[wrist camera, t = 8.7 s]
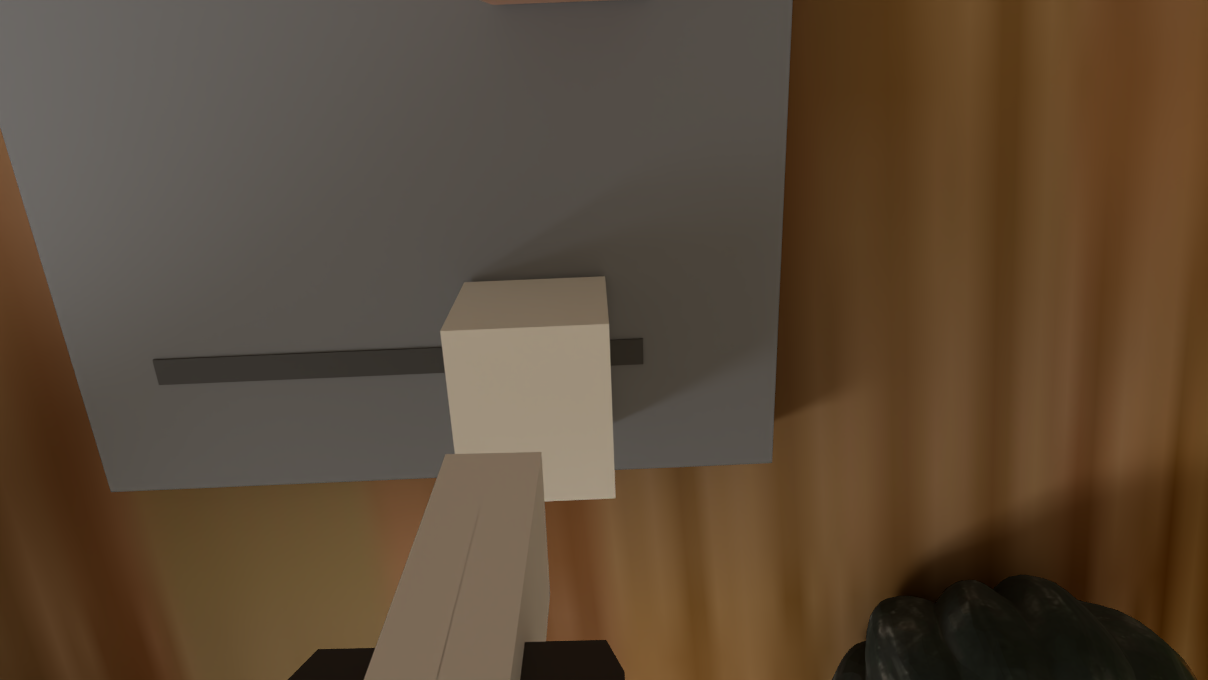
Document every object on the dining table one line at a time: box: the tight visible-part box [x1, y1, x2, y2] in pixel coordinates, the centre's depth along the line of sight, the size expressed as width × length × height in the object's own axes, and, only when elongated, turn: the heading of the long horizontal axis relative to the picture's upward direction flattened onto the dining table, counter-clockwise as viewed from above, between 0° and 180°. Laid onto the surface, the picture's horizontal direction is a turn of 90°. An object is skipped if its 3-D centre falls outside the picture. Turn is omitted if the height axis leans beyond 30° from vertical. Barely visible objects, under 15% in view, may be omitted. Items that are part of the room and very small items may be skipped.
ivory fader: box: [440, 276, 616, 501], centre depth 27 cm, size 5×6×5 cm
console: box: [0, 0, 793, 492], centre depth 28 cm, size 26×24×3 cm
